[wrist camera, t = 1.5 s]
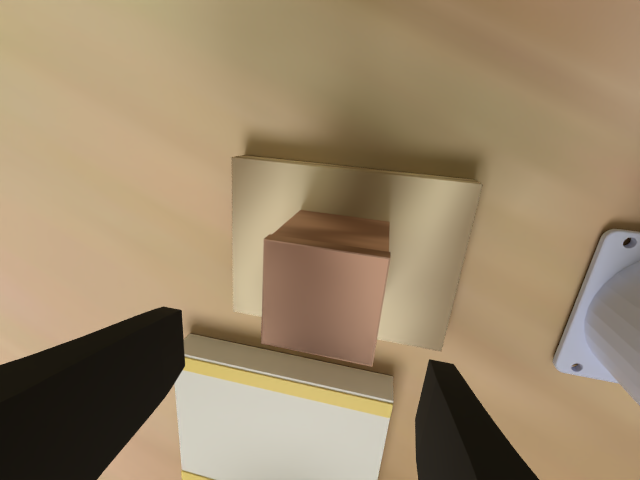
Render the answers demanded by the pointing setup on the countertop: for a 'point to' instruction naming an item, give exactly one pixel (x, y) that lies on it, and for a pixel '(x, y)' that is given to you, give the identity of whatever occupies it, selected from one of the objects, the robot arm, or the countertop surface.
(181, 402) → the dock
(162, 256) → the countertop surface
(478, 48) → the countertop surface
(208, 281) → the countertop surface
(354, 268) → the brown cube
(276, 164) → the beige rectangular slab
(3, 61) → the countertop surface
